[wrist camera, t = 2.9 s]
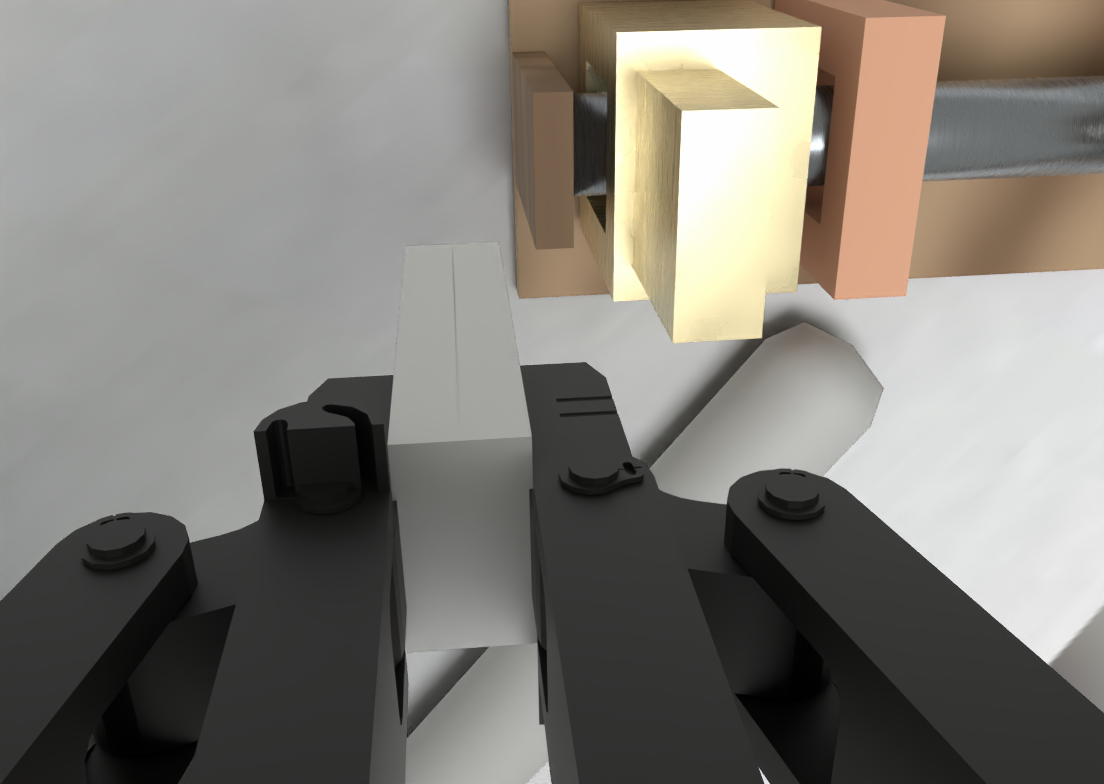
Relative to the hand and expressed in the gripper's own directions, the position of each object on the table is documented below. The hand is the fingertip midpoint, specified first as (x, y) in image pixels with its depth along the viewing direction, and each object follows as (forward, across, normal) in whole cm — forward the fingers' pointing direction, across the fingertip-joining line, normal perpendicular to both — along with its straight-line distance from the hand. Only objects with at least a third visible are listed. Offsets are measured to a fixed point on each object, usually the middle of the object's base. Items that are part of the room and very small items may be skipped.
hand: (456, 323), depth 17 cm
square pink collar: (+17, +11, 0) cm, 20 cm away
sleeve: (+17, +7, 0) cm, 18 cm away
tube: (+19, +6, -18) cm, 26 cm away
